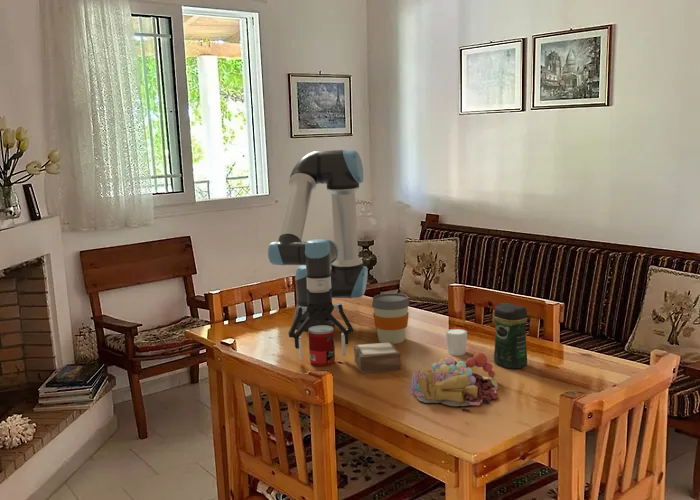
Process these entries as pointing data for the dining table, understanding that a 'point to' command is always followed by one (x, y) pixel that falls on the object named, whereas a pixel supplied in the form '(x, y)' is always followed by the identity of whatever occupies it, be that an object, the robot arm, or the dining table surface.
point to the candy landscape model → (456, 382)
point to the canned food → (321, 345)
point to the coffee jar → (510, 335)
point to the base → (377, 357)
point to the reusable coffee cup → (391, 316)
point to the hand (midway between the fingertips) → (322, 356)
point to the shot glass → (456, 341)
